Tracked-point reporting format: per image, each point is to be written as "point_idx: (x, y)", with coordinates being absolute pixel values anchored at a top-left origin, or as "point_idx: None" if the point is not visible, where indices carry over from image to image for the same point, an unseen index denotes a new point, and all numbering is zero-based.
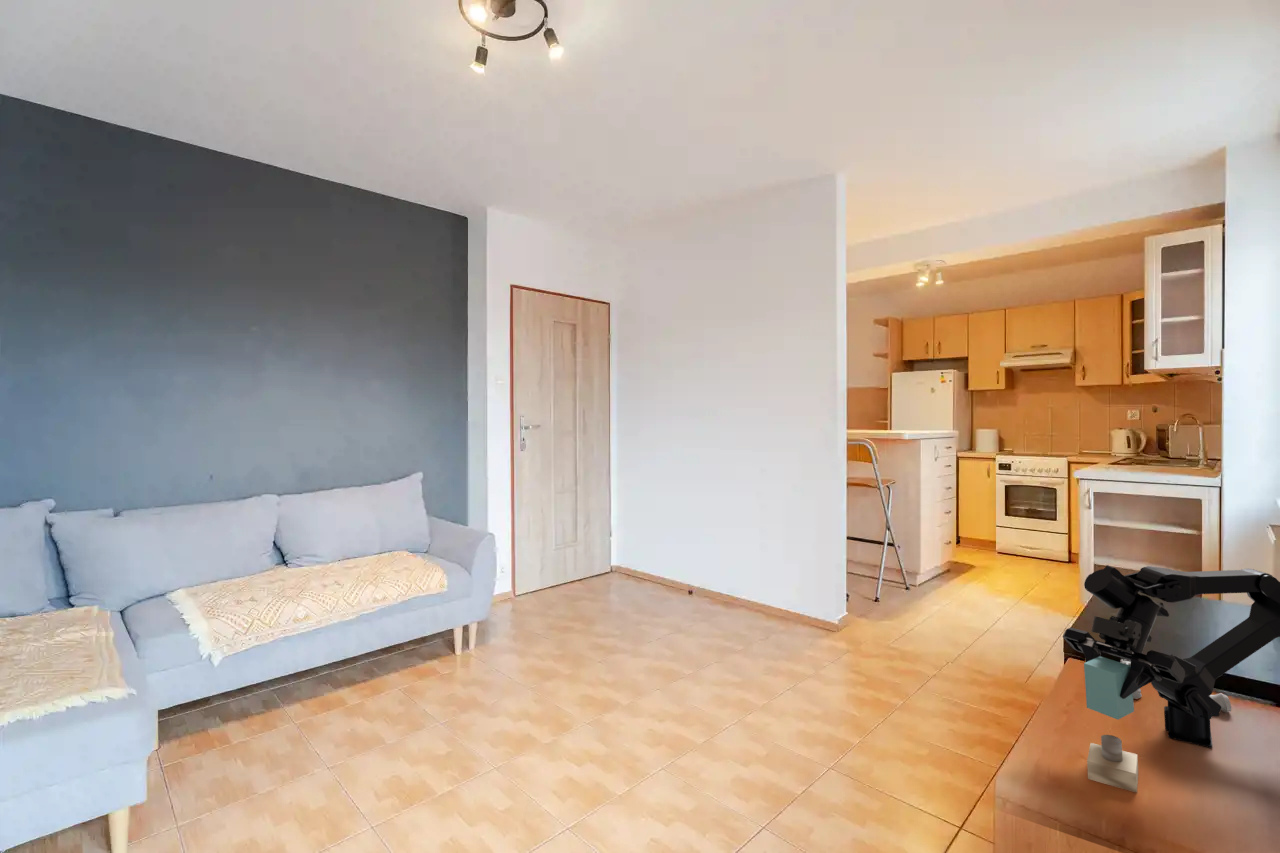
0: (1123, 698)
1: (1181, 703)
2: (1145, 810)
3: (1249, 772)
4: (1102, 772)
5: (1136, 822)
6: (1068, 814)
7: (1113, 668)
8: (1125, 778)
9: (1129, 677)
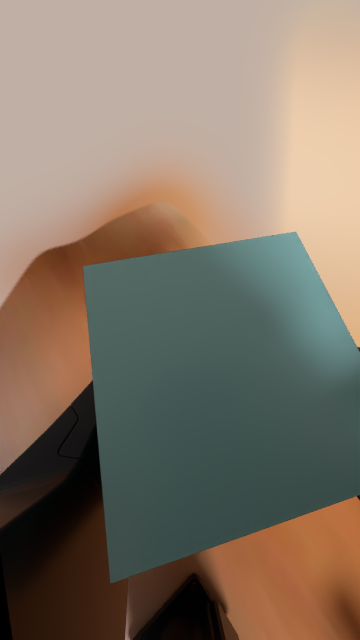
0: None
1: None
2: (70, 303)
3: None
4: None
5: (62, 273)
6: (108, 223)
7: (147, 328)
8: None
9: (85, 415)
